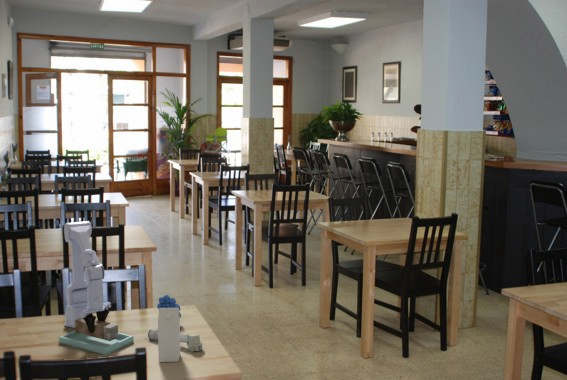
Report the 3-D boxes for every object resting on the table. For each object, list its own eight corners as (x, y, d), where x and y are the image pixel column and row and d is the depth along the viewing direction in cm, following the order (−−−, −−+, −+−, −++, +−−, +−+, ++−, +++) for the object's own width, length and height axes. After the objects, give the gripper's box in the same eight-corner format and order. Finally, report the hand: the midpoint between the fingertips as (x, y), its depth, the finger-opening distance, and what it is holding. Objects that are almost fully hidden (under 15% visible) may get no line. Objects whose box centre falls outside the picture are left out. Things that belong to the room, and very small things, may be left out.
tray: (59, 343, 245) (59, 337, 245) (88, 331, 258) (88, 325, 258) (105, 355, 234) (105, 348, 233) (133, 342, 247) (133, 336, 246)
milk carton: (160, 354, 235) (159, 305, 232) (180, 354, 235) (179, 304, 233) (158, 362, 228) (157, 311, 225) (178, 362, 228) (177, 311, 226)
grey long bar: (155, 327, 253) (204, 330, 240) (157, 343, 253) (206, 348, 240) (146, 331, 249) (195, 335, 235) (148, 347, 249) (197, 352, 236)
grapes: (151, 323, 267) (151, 296, 266) (161, 318, 274) (160, 291, 272) (174, 327, 263) (174, 299, 261) (183, 322, 269) (183, 295, 267)
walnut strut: (75, 332, 248) (74, 319, 247) (84, 328, 252) (83, 316, 251) (109, 341, 239) (109, 328, 238) (118, 337, 243) (118, 324, 242)
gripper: (88, 302, 235) (89, 338, 237) (116, 292, 248) (117, 326, 250) (74, 300, 238) (76, 334, 240) (102, 290, 251) (103, 323, 253)
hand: (96, 330), depth 245 cm, fingers closed on walnut strut, 4 cm apart
